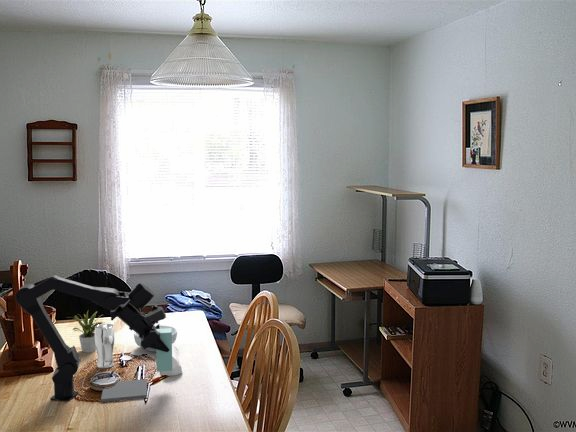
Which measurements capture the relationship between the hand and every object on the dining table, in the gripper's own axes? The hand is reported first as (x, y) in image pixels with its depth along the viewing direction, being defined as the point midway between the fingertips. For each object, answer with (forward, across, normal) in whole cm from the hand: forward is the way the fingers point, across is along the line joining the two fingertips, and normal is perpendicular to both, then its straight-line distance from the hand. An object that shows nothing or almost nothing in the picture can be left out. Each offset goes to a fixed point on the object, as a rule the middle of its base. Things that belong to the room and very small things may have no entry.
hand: (168, 348), depth 197 cm
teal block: (+4, 0, +6) cm, 7 cm away
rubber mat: (-1, 0, +20) cm, 20 cm away
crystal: (+10, +22, +9) cm, 26 cm away
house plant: (-12, +45, +32) cm, 57 cm away
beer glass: (-6, +27, +26) cm, 37 cm away
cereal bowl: (+7, +43, +12) cm, 45 cm away
